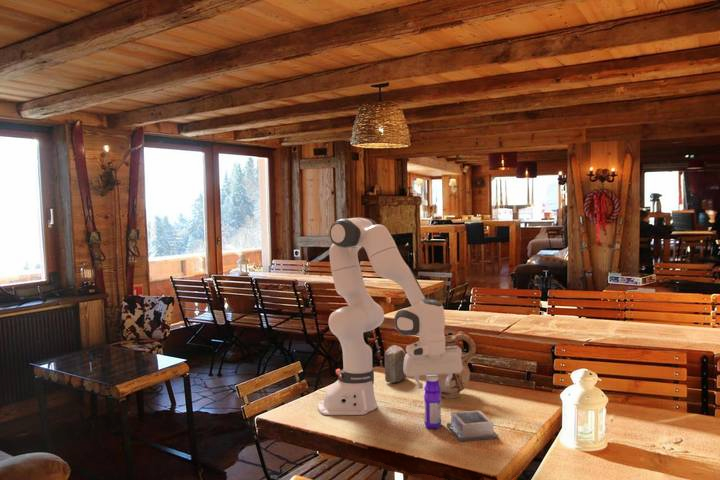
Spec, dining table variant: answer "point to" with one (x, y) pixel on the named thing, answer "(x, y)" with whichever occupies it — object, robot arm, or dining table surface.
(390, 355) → the geological specimen
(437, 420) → the bottle
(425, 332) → the robot arm
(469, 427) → the bottle holder
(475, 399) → the dining table surface
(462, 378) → the ceramic vessel
